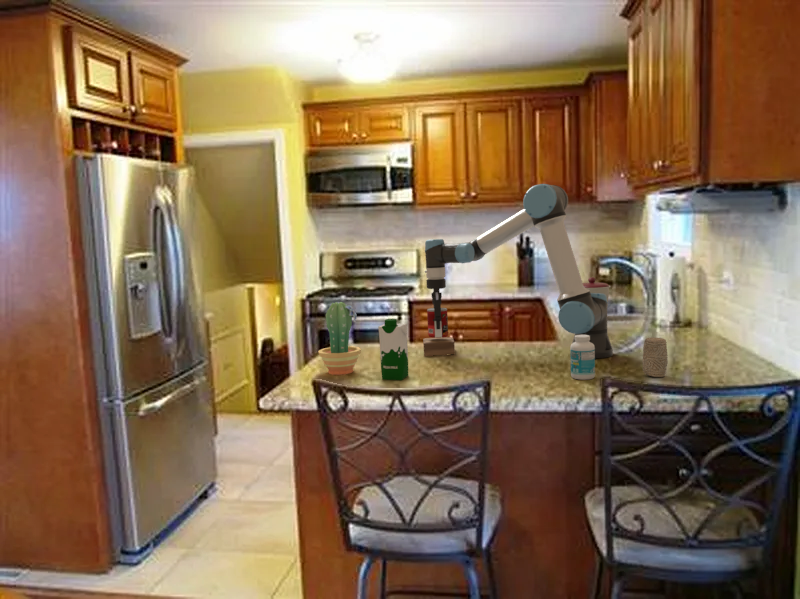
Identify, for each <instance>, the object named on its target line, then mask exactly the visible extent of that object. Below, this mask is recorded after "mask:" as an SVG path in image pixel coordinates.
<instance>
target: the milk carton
mask: <svg viewBox="0 0 800 599" xmlns="http://www.w3.org/2000/svg"><path fill="white" fill-rule="evenodd" d="M397 321H398V320H397V319H396V318H388V319H387V318H386V319H384V323H383V324H382V325H379V326H378V328H377V329H378V336H379V337H378V338H379V339H378V340H379V354H380V357H379V358H380V370H381V371H380V372H381V380H382V381H383V380H384V381H403V380H404V379H406V378H407V377H409V352H408V323H398V322H397Z"/></svg>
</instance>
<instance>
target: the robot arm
mask: <svg viewBox="0 0 800 599" xmlns="http://www.w3.org/2000/svg"><path fill="white" fill-rule="evenodd" d="M522 200H523V202H522V204H523V209H521V210H520V211H517V212H516V213H515V214H513V215H512V216H510V217H508V218H507V219H505V220H504V221H502V222H500V223H498V224H497V225H496V226H495V225H494V226H493V227H492V228H491V229H489V230H487V231H485V232H484V233H482V234H480V235H479V236H477V237H476V238H473V239H472V240H471V241H469V242H458V243H445V240H444V239H443V238H435V239H433V238H432V239H426V240H425V244H424V253H425V270H424V274H426V280H425V281H426V289H427V290H428V289H429V290H433V292H430V293H431V298H432V299H431V301H432V304H433V308H434V313H435V319H433V321H434V323H435V338H436V337H441V338H443V337H442V323H441V319H442V318H441V308H442V307H441V305H442V295H443V294H442V292H440V289H445V288H446V284H447V282H446V279H445V277H446V264H469V263H471V262H477V261H479V260H481V259H483V258H484V257H485V255H487V254H488V253H490V252H491V251H493V250H495V249H497V248H499V247H500V246H502V245H504V244H505V243H507V242H509V241H510V240H512V239H514V238H515V237H517V236H519V235H521V234H522V233H524V232H526V231H528V230H530V229H531V228H533V227H534V228H536V229H537V230H539V231H540V236H541V238H542V241H543V245H544V248H545V251H546V254H547V258H548V260H549V263H550V268H551V270H552V274H553V276H554V280H555V282H556V286H557V290H558V293H559V296H558V298H557V299H556V301H557V305H558V308H559V311H558V315H557V316H558V317H557V318H558V322H559V324H560V326H561V328H563V330H565V331H566V332H568V333H570V334H574V336H573V339H572V343H574V342H575V335H589V336H590V341H589V342H591V343H593V344H594V346H595V359H604V358H610V357H612V356H614V355H613V354H614V353H613V351H614V348H613V346H612V343H611V341H610V338H609V334H608V307H607V303H608V304H609V301H608V302H607V297H606V295H605V294H601V293H590V290H588V289H586V288H585V287H584V286H583V283H584V282H583V280H582V277H581V274H580V270H579V268H578V264H577V260H576V258H575V254H574V251H573V248H572V244H571V243H570V238H569V235H568V232H567V229H566V225H565V220H566V219H567V214H566V210H567V207H568V204H569V197H568V194H567V193H566V190H565V189H563V188H562V187H561V186H559V185H554V184H547V183H539V184H535V185H532V186H531V187H529V189H528V190H527V191H526V193H524V196H523V199H522ZM572 343H571V344H572ZM569 353H570V354H569V355H570V356H571V352H569Z"/></svg>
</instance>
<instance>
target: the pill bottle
mask: <svg viewBox="0 0 800 599" xmlns="http://www.w3.org/2000/svg"><path fill="white" fill-rule="evenodd" d="M574 336H575V342H574V343H571V344H570V347H569V348H570V350H569V351H570V352H571V355H570V376H571V378H572V379H574V380H575V379H576V380H581V381H583V380H585V381H587V380H592V379H594V378H595V376H596V361H595V360H596V358H595V346H594V344H593V343H591V342H589V341H590V336H589V335H575V334H574ZM570 352H569V353H570Z"/></svg>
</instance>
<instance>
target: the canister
mask: <svg viewBox="0 0 800 599" xmlns="http://www.w3.org/2000/svg"><path fill="white" fill-rule="evenodd" d="M582 283H583V286H584V287H585V288H586V289H588V290H590V293H601V294H605V295H606V297H607V302H608V303H607V308H608V306H609V297H610V296H609V295H610V288H611V285H609V284H608V283H606V282H596V278H595V277H593V276H591V277H588V282H582Z"/></svg>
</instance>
